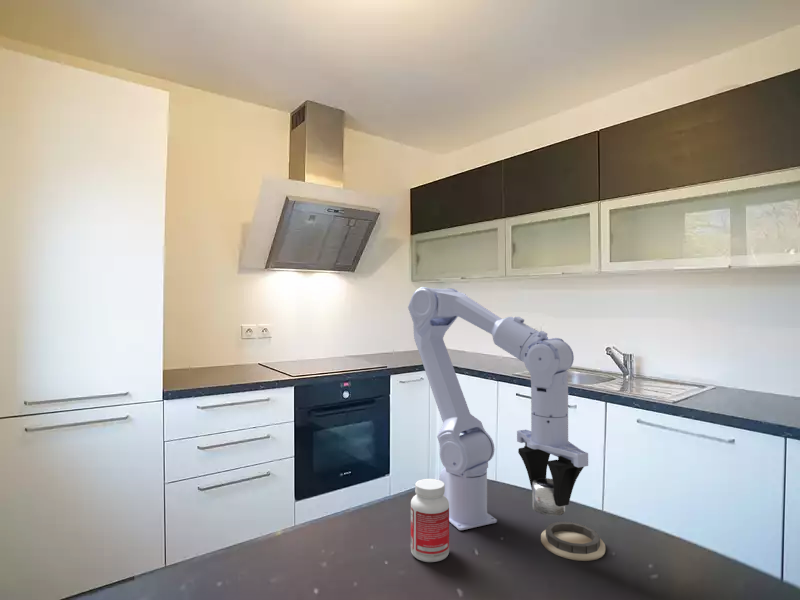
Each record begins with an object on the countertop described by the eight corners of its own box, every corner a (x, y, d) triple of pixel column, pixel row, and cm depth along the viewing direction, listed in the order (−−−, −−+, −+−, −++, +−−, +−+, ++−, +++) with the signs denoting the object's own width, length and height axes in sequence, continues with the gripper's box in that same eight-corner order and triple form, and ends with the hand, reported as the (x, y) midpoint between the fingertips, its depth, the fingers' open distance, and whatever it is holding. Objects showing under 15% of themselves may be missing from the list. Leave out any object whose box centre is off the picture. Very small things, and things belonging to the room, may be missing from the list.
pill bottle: (457, 556, 73) (457, 485, 73) (426, 568, 69) (426, 494, 69) (433, 539, 78) (433, 473, 78) (403, 550, 74) (403, 481, 74)
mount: (528, 536, 79) (528, 525, 79) (572, 525, 83) (572, 515, 83) (571, 566, 70) (571, 554, 70) (619, 552, 74) (619, 541, 74)
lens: (526, 505, 76) (526, 479, 76) (550, 500, 78) (550, 475, 78) (546, 517, 71) (546, 490, 71) (572, 512, 73) (571, 486, 73)
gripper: (502, 406, 80) (502, 485, 80) (561, 426, 66) (562, 521, 66) (535, 403, 83) (535, 479, 82) (598, 422, 69) (599, 513, 69)
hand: (549, 498), depth 74 cm, fingers closed on lens, 5 cm apart
